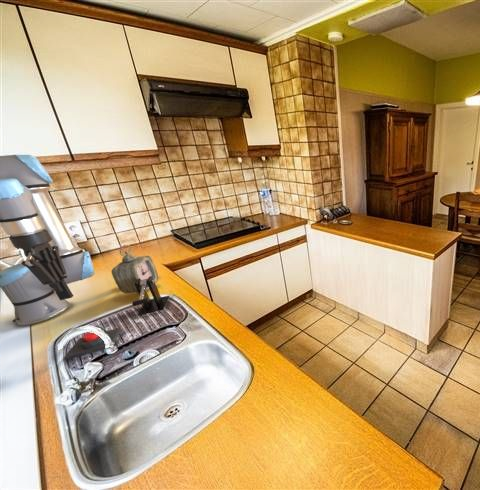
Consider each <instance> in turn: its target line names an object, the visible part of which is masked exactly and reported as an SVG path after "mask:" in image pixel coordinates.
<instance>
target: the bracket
mask: <svg viewBox="0 0 480 490" xmlns="http://www.w3.org/2000/svg"><path fill="white" fill-rule="evenodd" d="M140 282H141V278H140V279H137V280H136V282H135V283H134V285H135V287H136V289H137V291H138V292H137V293H139V294H138V296H140V293H141V289H142V287H141V286H140ZM146 282H147V285H148V287H149V292H150V294H151V296H152V299H150V296H149V294H148V292H147V291H146V290H145V295H144V299H146V298H148V299H149V303H144V304H142V305H143V306H142V307H141V308H140V310H139V312H138V313H137V317H139V316H140V317H141V316H144V315H148V314H152V313H155V312H159V311H160V312H161V311H163V310H164V309H165V307H166V305H167V303H168V301H169V299H170V295H165V296H161V294H160V292H159V289H158V286H156V284H157V283H155V282H154V280H153V277H152V276H149V278H148V279H147V281H146Z"/></svg>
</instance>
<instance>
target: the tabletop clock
mask: <svg viewBox="0 0 480 490" xmlns="http://www.w3.org/2000/svg"><path fill="white" fill-rule="evenodd" d="M125 247H128V248H129V250H128V251H127V250H125V252H124V254H123V253H122V250H123V249H125ZM131 247H132V246H130V244H124V245H122V246H121V247H120V248H119V254H120V256H122V259H121V262H119V263H118V264H116V265H115V266H113V268H112V269H111V275H112V278H113V280H114V283H115V284H116V286H117V288H118V290H119V291H120V292H121V293H123V294H125V295H128V294H135V293H136V294H137V295H139V293H138V291H137V289H136V287H135V285H134V283H135V282H136V280H137V279H140V278H141V280H143V279H148V278H149V276H152V277H153V280H154V282H155V284H156V287H158V286H159V284H157V283H158V281H159V274H158V271H157V268H156V265H155V263H154V261H153V260H152V258H151V257H150V255H141V256H136V255H135V254H130V253H131V252H132V248H131ZM147 291H150V289H149V287H147V288H146V292H147Z"/></svg>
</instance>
